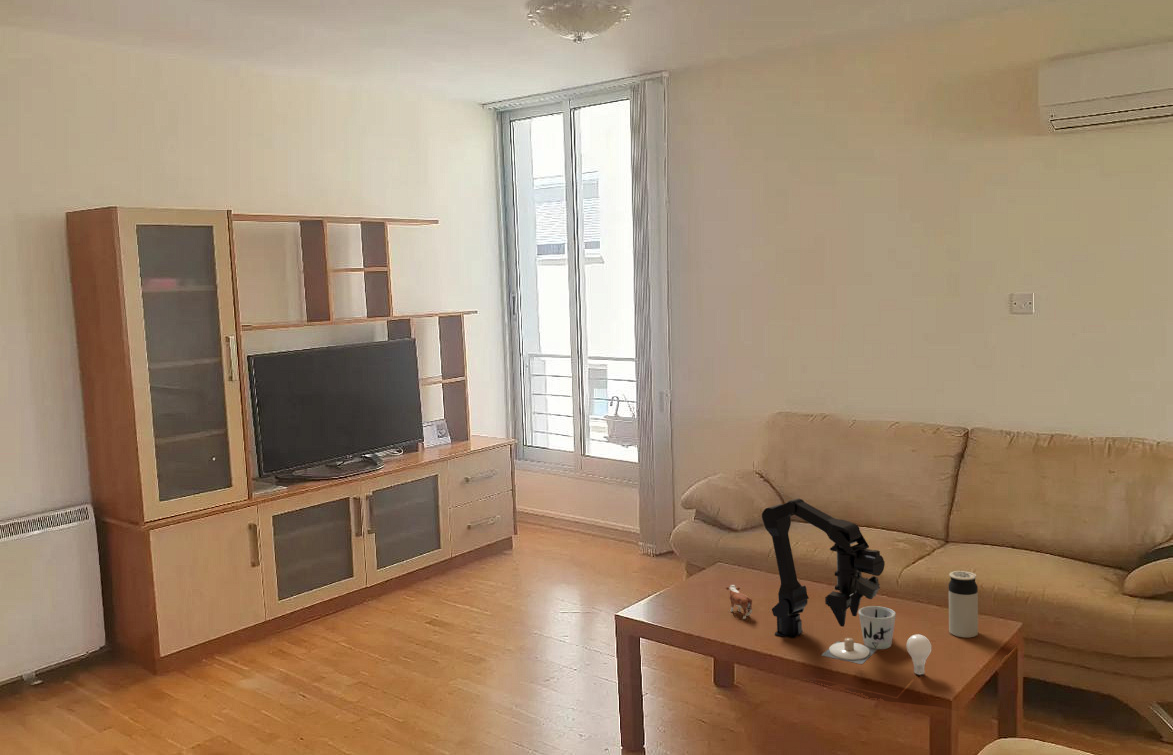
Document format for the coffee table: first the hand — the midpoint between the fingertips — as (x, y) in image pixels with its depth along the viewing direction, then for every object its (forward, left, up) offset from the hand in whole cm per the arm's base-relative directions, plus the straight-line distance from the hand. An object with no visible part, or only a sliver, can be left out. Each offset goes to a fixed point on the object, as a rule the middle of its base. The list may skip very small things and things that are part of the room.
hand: (848, 621), depth 262 cm
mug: (+4, +12, -10) cm, 16 cm away
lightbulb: (+21, -4, -10) cm, 24 cm away
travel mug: (+23, +31, -10) cm, 40 cm away
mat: (0, 0, -10) cm, 10 cm away
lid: (0, 0, -9) cm, 9 cm away
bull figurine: (-42, +13, -10) cm, 45 cm away
